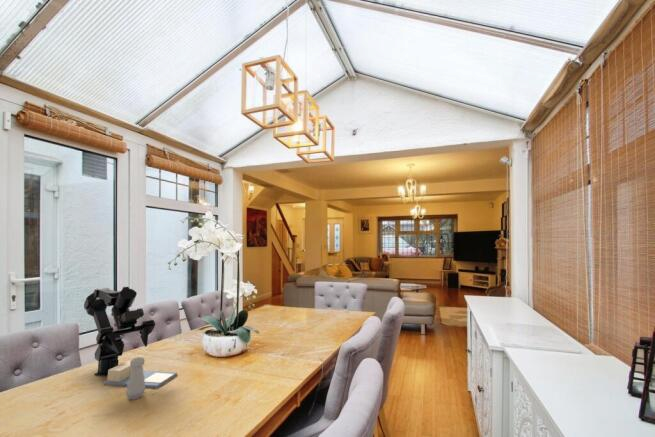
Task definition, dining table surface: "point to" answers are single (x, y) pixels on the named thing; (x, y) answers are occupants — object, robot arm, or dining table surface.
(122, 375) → the board
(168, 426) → the dining table surface
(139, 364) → the salt shaker
